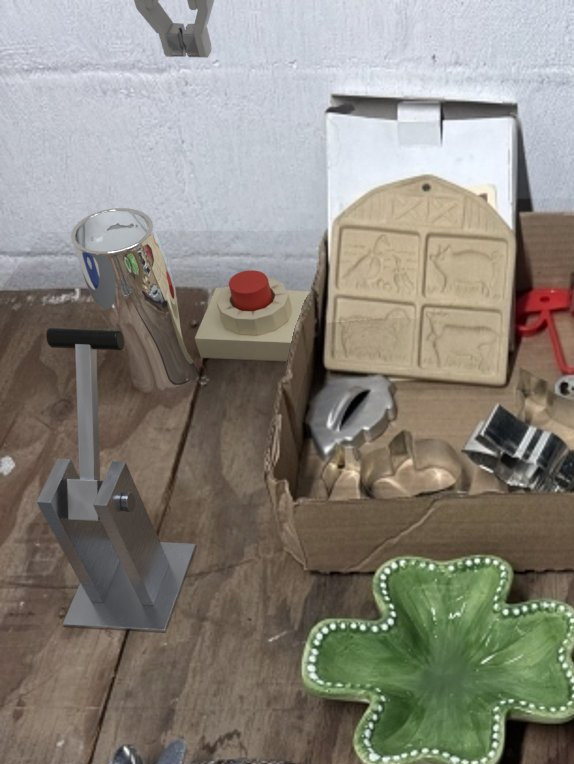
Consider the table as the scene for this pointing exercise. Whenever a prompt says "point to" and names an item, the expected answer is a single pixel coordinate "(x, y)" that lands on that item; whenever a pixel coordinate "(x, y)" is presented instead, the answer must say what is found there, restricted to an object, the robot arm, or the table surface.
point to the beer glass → (135, 296)
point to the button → (250, 290)
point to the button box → (250, 326)
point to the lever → (86, 412)
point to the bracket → (115, 555)
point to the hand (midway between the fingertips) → (189, 54)
